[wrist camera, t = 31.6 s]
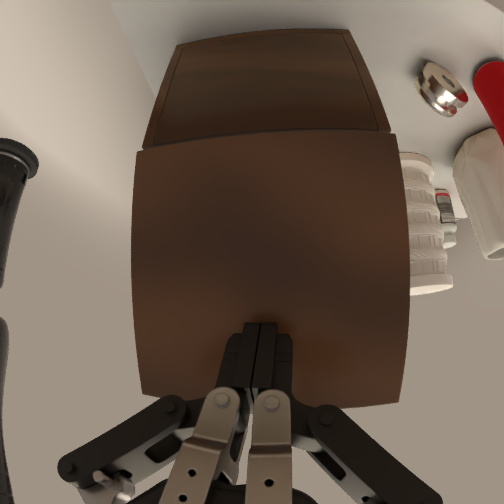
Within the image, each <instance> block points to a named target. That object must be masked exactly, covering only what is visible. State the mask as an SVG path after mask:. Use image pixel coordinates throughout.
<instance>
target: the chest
mask: <svg viewBox="0 0 504 504" xmlns="http://www.w3.org/2000/svg"><path fill="white" fill-rule="evenodd" d="M305 131H352V132H376V133H390V132H391V128H390V125H389V122H388V119H387V116H386V113H385V110H384V108H383V105H382V102H381V100H380V97H379V94H378V92H377V89H376V87H375V84H374V82H373V80H372V77H371V75H370V73H369V70H368V68H367V66H366V64H365V62H364V59H363V57H362V55H361V53H360V51H359V49H358V47H357V45H356V43H355V41H354V39H353V37H352V35H351V33H350V31H349V30H341V29H281V30H267V31H256V32H247V33H240V34H233V35H226V36H220V37H215V38H209V39H204V40H200V41H195V42H191V43H186V44H182V45H178V46H176V48H175V51H174V53H173V55H172V58H171V60H170V63H169V65H168V68H167V71H166V73H165V76H164V79H163V81H162V84H161V87H160V90H159V93H158V96H157V98H156V101H155V105H154V108H153V111H152V114H151V117H150V120H149V124H148V127H147V131H146V134H145V138H144V141H143V145H142V148H143V149H144V150H147V149H152V148H157V147H163V146H168V145H174V144H180V143H186V142H192V141H199V140H206V139H214V138H222V137H231V136H241V135H252V134H265V133H281V132H305Z"/></svg>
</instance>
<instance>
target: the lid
mask: <svg viewBox="0 0 504 504" xmlns="http://www.w3.org/2000/svg"><path fill="white" fill-rule="evenodd" d="M131 228H132V229H131V230H132V231H131V278H132V302H133V317H134V330H135V341H136V350H137V358H138V367H139V374H140V381H141V388H142V394H144V395H149V396H154V397H159V398H162V397H164V396H166V395H177V396H179V397H181V398H182V399H183V400H184V401H188V400H194V399H200V398H203V397H205V396H207V395H208V393H209V392H210V391H212V390H213V389H214V388H215V385H216V382H217V378H218V374H219V370H220V366H221V362H222V359H223V355H224V352H225V347H226V343H227V340H228V339H229V338H230V337H231V336H232V334H233V333H242V332H243V327H244V323H245V322H261V323H262V322H278V333H279V334H289V335H290V337H291V339H292V341H293V379H292V394H293V396H294V398H295V399H296V400H297V401H299V402H300V403H302V404H304V405H308V406H311V407H315V408H316V407H318V406H320V405H326V404H329V405H334V406H336V407H338V408H340V409H347V408H359V407H368V406H377V405H384V404H391V403H397V402H399V398H400V392H401V385H402V380H403V373H404V366H405V358H406V349H407V339H408V326H409V309H410V245H409V228H408V215H407V205H406V196H405V188H404V180H403V173H402V167H401V161H400V155H399V150H398V144H397V139H396V135H395V134H392V133H376V132H352V131H305V132H281V133H265V134H252V135H241V136H231V137H222V138H214V139H206V140H199V141H192V142H186V143H180V144H174V145H168V146H163V147H157V148H152V149H147V150H142V151H138V152H137V155H136V166H135V175H134V188H133V204H132V227H131Z"/></svg>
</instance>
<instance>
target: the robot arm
mask: <svg viewBox="0 0 504 504" xmlns="http://www.w3.org/2000/svg"><path fill="white" fill-rule="evenodd" d="M29 174H30V166H29V164H28V163H27V161H26V160H25V159H23V158H22V157H21V156H19V155H17V154H16V153H13V152H11V151H8V150H2V149H0V288H1V287H2V285H3V282H4V274H5V272H4V271H5V267H6V261H7V255H8V249H9V243H10V239H11V234H12V230H13V225H14V222H15V218H16V214H17V210H18V206H19V203H20V199H21V196H22V193H23V190H24V187H25V186H26V183H27V179H28V176H29ZM8 351H9V331H8V327H7V324H6V322H5V320H4V319H3V318H1V317H0V504H15V502H14V498H13V493H12V488H11V483H10V478H9V473H8V468H7V462H6V456H5V450H4V440H3V427H2V406H3V392H4V383H5V375H6V367H7V360H8ZM292 379H293V341H292V339H291V337H290V335H289V334H279V333H278V322H262V323H261V322H245V323H244V327H243V332H242V333H233V334H232V336H231V337H230V338H229V339H228V340H227V343H226V347H225V352H224V355H223V359H222V362H221V366H220V370H219V374H218V378H217V382H216V385H215V388H214V389H213V390H212V391H210V392H209V393H208V395H207V396H205V397H203V398H200V399H194V400H188V401H184V400H183V399H182V398H181V397H179V396H177V395H166V396H164V397H162V398H160V399H159V400H157V401H156V402H154V403H153V404H151V405H149V406H148V407H146V408H145V409H143V410H142V411H140V412H139V413H137V414H136V415H134V416H132V417H130V418H129V419H127V420H126V421H124V422H122V423H121V424H119V425H117V426H116V427H114V428H112V429H111V430H109V431H107V432H106V433H104V434H102V435H101V436H99V437H97V438H95V439H94V440H92V441H90V442H88V443H87V444H85V445H83V446H81V447H79V448H77V449H76V450H74V451H72V452H70V453H68V454H66V455H64V456H63V457H62V458H61V459H60V460H59V462H58V466H57V469H58V473H59V475H60V477H61V478H62V479H63V480H65V481H66V482H68V483H70V484H72V485H74V486H75V487H76V488H77V489H78V491H79V493H80V495H81V496H82V498H83V500H84V502H85V503H86V504H318V503H316V501H315V500H314V499H313V498H311V497H310V496H308V495H307V494H305V493H304V492H302V491H299V490H297V489H294V488H292V448H291V446H294V447H297V448H300V449H303V450H306V451H307V453H308V454H309V455H310V456H311V457H312V458H313V459H314V460H315V461H316V462H317V464H318V465H319V466H320V467H321V468H322V469H323V470H324V471H325V472H326V473H327V474H328V475H329V476H330V477H331V478H332V479H333V480H334V481H335V482H336V483H337V484H338V485H339V486H340V487H341V488H342V489H343V490H344V491H345V492H346V493H347V494H348V495H349V496H350V497H351V498H352V499H353V500H354V501H355V502H356V503H357V504H443V501H442V498H441V496H440V495H439V494H438V493H437V492H435V491H434V490H433V489H432V488H430V487H429V486H428V485H427V484H425V483H424V482H423V481H422V480H420V479H419V478H418V477H416V475H414V474H413V473H412V472H411V471H409V470H408V469H407V468H406V467H405V466H404V465H402V464H401V463H400V462H399V461H398V460H396V459H395V458H394V457H393V456H392V455H391V454H389V453H388V452H387V451H386V450H385V449H384V448H383V447H381V446H380V445H379V444H378V443H377V442H376V441H375V440H374V439H372V438H371V437H370V436H369V435H368V434H367V433H366V432H365V431H364V430H362V429H361V428H360V427H359V426H358V425H357V424H356V423H355V422H354V421H353V420H351V419H350V418H349V417H348V416H347V415H346V414H345V413H344V412H343V411H342V410H341V409H340V408H338V407H336V406H334V405H329V404H326V405H320V406H318V407H316V408H315V407H311V406H308V405H304V404H302V403H300V402H299V401H297V400H296V399H295V398H294V396H293V394H292ZM249 414H253V425H252V441H251V448H250V450H249V455H248V468H247V481H246V484H244V485H236V482H237V478H238V473H239V461H240V457H241V454H242V450H243V446H244V442H245V438H246V434H247V431H248V421H249ZM175 459H176V460H175ZM174 460H175V463H174V465H173V468H172V470H171V473H170V476H169V478H168V479H165V480H163V481H161V482H159V483H158V484H156V485H155V486H153V487H152V488H150V489H149V490H147V491H145V492H144V493H142V494H141V495H139V496H138V497H136V498H134V499H133V500H131V501H129V502H128V503H126V502H127V501H128V500H129V499H131V498H132V497H133V496H134V494H135V486H134V485H135V484H136V483H138V482H140V481H142V480H143V479H145V478H147V477H148V476H150V475H152V474H153V473H155V472H156V471H158V470H160V469H161V468H163V467H164V466H166V465H167V464H169V463H170V462H172V461H174Z"/></svg>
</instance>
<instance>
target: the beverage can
mask: <svg viewBox="0 0 504 504" xmlns="http://www.w3.org/2000/svg"><path fill="white" fill-rule="evenodd" d="M473 86H474V90H475V92H476V94H477V96H478V97H479V99H480V101H481V102H482V104H483V106H484V108H485V109H486V111H487V113H488V115H489V117H490V119H491V121H492V123H493V125H494V127H495V129H496V131H497V133H498V135H499V137H500V139H501V141H502V143H503V146H504V62H502V61H491V62H488V63H486V64H484V65H483V66H481V67H480V68H479V70H478V71H477V72H476V75H475V77H474V81H473Z"/></svg>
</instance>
